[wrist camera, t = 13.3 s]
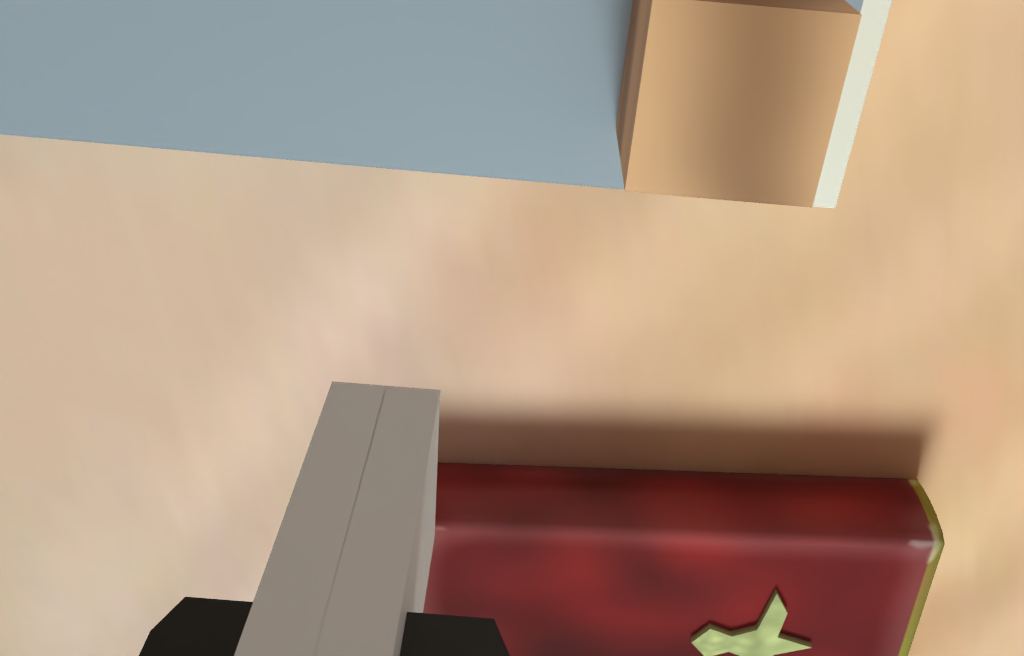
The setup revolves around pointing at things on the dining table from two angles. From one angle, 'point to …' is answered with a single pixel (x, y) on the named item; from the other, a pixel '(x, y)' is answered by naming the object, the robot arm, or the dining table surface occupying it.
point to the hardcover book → (683, 560)
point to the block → (732, 96)
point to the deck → (355, 82)
